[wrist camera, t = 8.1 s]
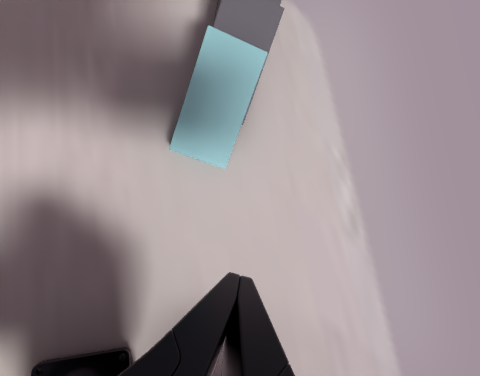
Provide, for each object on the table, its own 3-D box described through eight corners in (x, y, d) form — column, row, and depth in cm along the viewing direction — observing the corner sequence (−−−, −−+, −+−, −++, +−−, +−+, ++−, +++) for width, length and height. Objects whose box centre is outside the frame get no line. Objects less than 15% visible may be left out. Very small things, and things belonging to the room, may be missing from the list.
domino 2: (225, 169, 22) (267, 52, 20) (168, 149, 21) (208, 25, 19) (224, 166, 24) (263, 57, 22) (171, 147, 23) (208, 32, 21)
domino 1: (242, 125, 23) (284, 8, 21) (189, 104, 22) (227, -20, 20) (240, 124, 24) (279, 16, 22) (190, 105, 23) (226, -10, 22)
